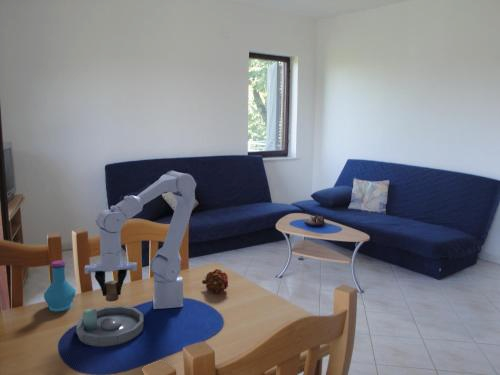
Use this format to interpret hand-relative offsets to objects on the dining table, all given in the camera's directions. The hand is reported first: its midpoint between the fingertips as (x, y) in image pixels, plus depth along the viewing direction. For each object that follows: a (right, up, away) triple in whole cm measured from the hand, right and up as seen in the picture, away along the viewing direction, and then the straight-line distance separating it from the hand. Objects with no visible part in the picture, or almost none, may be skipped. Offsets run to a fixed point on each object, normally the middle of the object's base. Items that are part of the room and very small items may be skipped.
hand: (112, 294), depth 122 cm
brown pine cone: (+29, -5, +25) cm, 38 cm away
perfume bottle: (-20, -7, +9) cm, 23 cm away
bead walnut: (0, -2, 0) cm, 2 cm away
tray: (+1, -9, -4) cm, 10 cm away
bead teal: (-4, -8, -5) cm, 11 cm away
